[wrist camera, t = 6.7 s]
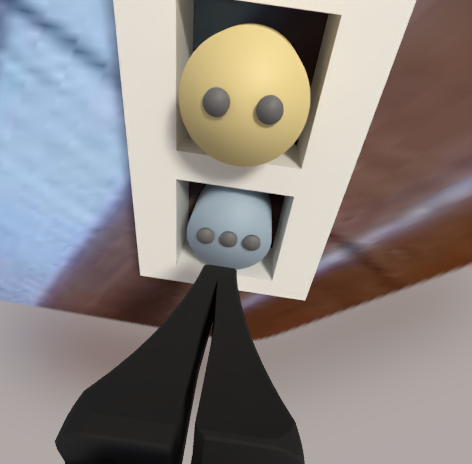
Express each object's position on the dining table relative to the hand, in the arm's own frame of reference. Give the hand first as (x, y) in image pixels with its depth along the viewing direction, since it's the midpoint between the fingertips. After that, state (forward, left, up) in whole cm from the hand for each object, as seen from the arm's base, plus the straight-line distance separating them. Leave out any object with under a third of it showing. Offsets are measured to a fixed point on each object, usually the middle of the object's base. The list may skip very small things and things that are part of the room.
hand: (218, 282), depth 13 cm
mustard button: (+5, +5, -5) cm, 8 cm away
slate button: (0, 0, -6) cm, 6 cm away
